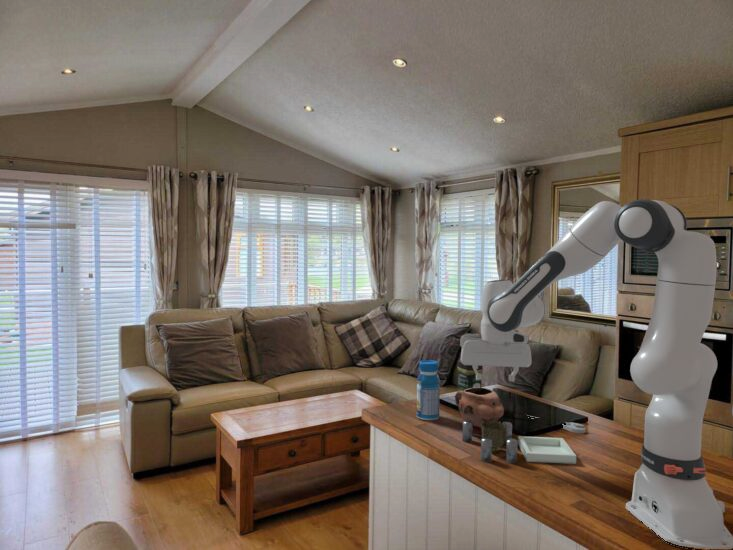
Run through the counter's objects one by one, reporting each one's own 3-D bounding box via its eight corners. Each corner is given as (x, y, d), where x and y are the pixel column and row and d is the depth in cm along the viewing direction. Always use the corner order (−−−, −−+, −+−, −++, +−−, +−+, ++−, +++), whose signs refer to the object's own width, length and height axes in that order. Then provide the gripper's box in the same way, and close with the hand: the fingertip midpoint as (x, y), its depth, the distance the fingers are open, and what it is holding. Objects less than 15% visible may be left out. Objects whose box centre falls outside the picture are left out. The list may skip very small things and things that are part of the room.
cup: (507, 456, 145) (507, 429, 144) (481, 454, 146) (481, 427, 146) (505, 447, 152) (505, 421, 152) (480, 445, 154) (481, 419, 153)
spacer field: (521, 463, 140) (522, 442, 140) (467, 460, 142) (467, 440, 141) (510, 441, 157) (511, 422, 157) (462, 438, 159) (462, 420, 158)
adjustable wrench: (510, 418, 180) (510, 413, 180) (518, 414, 185) (518, 409, 185) (582, 435, 164) (582, 430, 164) (588, 430, 168) (588, 425, 168)
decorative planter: (441, 427, 169) (442, 386, 168) (464, 419, 177) (465, 380, 176) (491, 444, 154) (492, 400, 153) (514, 435, 162) (515, 393, 161)
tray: (576, 464, 140) (576, 455, 140) (526, 461, 142) (527, 453, 142) (562, 445, 154) (562, 438, 153) (517, 443, 155) (517, 435, 155)
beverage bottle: (429, 422, 173) (430, 365, 172) (411, 416, 179) (411, 361, 178) (444, 417, 179) (445, 362, 178) (426, 411, 185) (427, 358, 184)
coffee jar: (453, 404, 195) (454, 356, 194) (469, 401, 198) (470, 355, 197) (468, 411, 186) (469, 361, 185) (485, 408, 190) (486, 360, 189)
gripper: (461, 334, 146) (460, 382, 146) (533, 337, 143) (532, 384, 144) (459, 331, 152) (458, 376, 152) (528, 333, 150) (527, 379, 150)
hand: (494, 380), depth 148 cm, fingers open, 8 cm apart
